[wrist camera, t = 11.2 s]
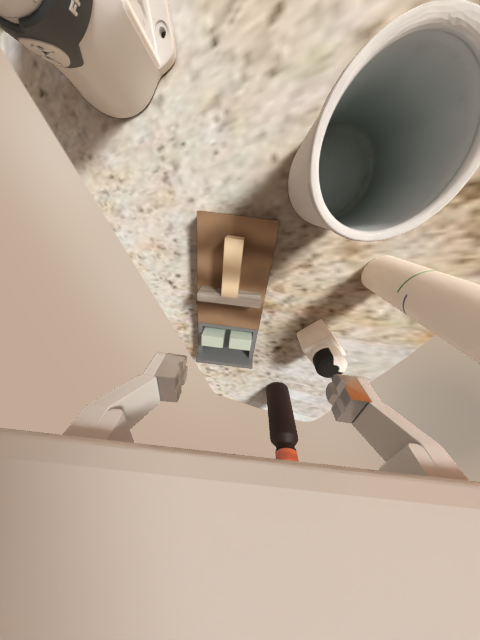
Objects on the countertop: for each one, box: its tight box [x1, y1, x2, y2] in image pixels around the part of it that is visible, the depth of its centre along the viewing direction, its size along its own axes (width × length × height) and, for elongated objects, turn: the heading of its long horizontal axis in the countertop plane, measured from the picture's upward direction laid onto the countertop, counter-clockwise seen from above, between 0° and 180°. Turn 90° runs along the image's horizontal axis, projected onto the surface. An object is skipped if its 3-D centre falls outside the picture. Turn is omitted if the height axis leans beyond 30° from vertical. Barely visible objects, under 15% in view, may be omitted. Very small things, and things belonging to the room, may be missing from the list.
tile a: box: [202, 327, 226, 348], centre depth 45 cm, size 5×5×3 cm
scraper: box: [197, 235, 261, 308], centre depth 34 cm, size 12×12×4 cm
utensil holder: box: [288, 0, 480, 241], centre depth 23 cm, size 15×15×18 cm
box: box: [196, 322, 258, 369], centre depth 46 cm, size 10×14×6 cm
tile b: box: [229, 330, 252, 351], centre depth 44 cm, size 5×5×3 cm
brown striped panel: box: [197, 211, 280, 330], centre depth 38 cm, size 22×14×4 cm, turn 174°
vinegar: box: [266, 382, 298, 461], centre depth 49 cm, size 7×7×20 cm
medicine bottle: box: [296, 319, 347, 378], centre depth 42 cm, size 7×7×12 cm
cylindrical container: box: [361, 255, 480, 364], centre depth 27 cm, size 7×7×25 cm
